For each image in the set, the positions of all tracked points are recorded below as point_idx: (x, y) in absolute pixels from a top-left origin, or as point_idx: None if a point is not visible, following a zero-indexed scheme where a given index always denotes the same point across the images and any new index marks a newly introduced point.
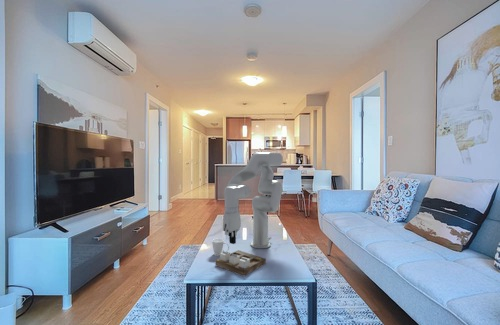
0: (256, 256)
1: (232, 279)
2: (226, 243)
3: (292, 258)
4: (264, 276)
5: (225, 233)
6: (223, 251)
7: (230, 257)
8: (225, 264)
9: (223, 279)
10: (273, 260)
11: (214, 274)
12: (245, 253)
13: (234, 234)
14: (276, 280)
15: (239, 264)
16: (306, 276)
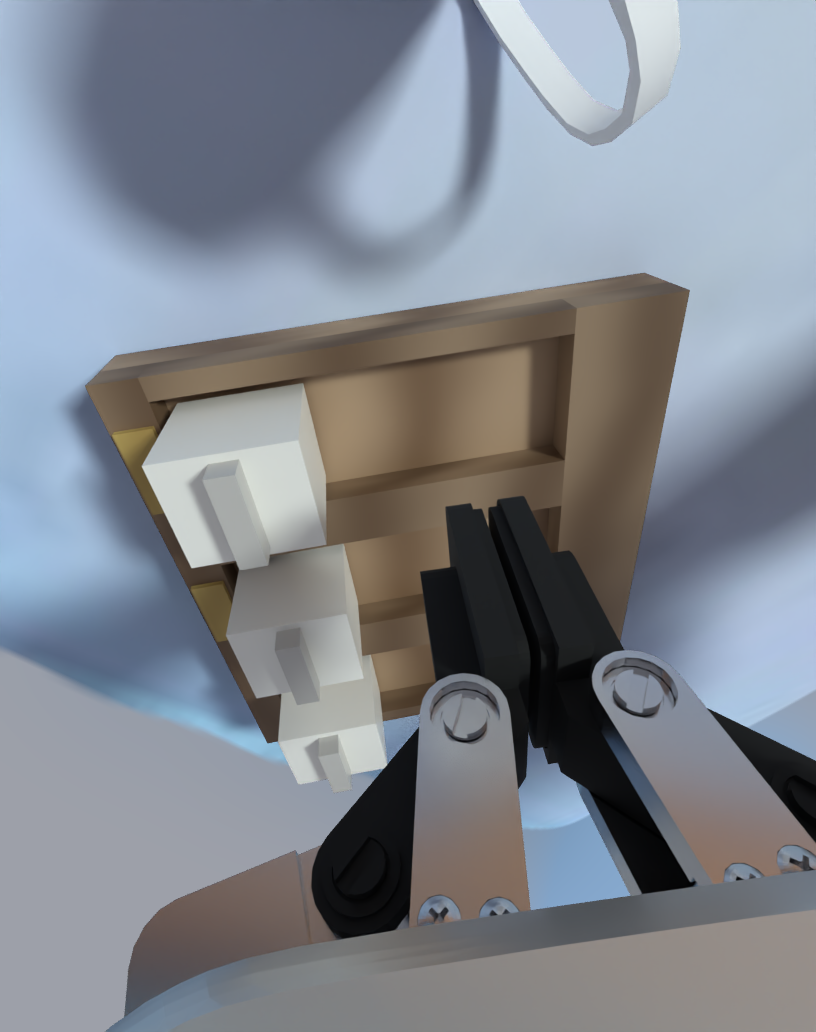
0: (609, 607)
1: (151, 694)
2: (633, 73)
3: (804, 669)
4: (395, 749)
5: (149, 997)
6: (212, 502)
7: (234, 646)
8: (181, 561)
9: (70, 665)
10: (694, 626)
11: (8, 557)
12: (622, 473)
13: (584, 789)
14: None
15: (283, 698)
16: (568, 819)
